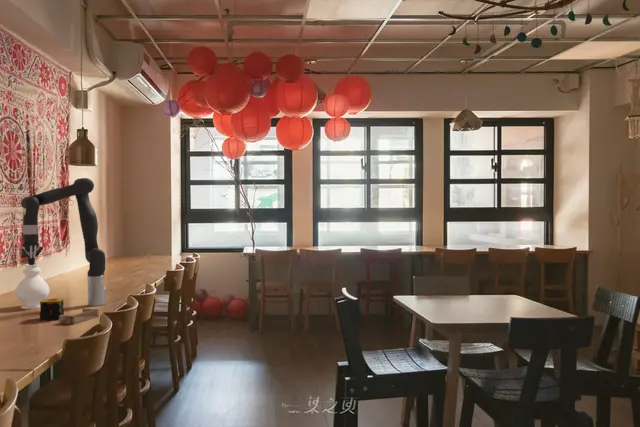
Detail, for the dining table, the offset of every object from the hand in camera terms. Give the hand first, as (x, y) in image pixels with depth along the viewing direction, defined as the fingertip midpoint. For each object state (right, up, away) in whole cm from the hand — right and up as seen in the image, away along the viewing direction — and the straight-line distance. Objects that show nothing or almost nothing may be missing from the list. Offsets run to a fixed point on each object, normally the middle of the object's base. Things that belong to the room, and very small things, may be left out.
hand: (31, 264), depth 310 cm
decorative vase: (-10, -27, +22) cm, 36 cm away
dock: (+33, -27, -16) cm, 45 cm away
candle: (+16, -28, -11) cm, 34 cm away
